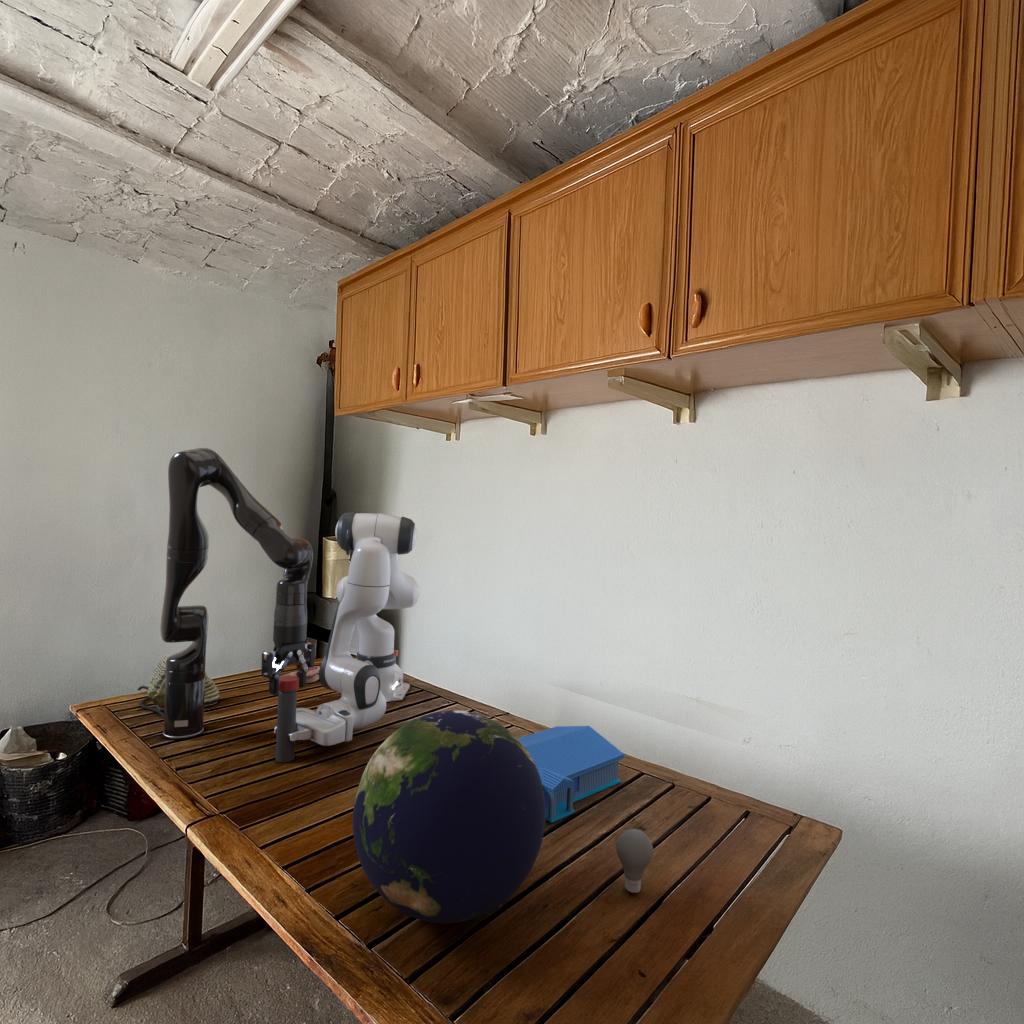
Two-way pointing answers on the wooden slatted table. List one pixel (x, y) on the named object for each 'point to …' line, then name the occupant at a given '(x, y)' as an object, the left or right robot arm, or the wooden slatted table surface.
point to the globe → (449, 817)
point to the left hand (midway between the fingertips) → (287, 690)
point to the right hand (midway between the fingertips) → (282, 734)
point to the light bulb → (634, 857)
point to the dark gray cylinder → (286, 725)
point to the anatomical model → (308, 674)
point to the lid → (288, 683)
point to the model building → (571, 765)
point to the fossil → (158, 687)
